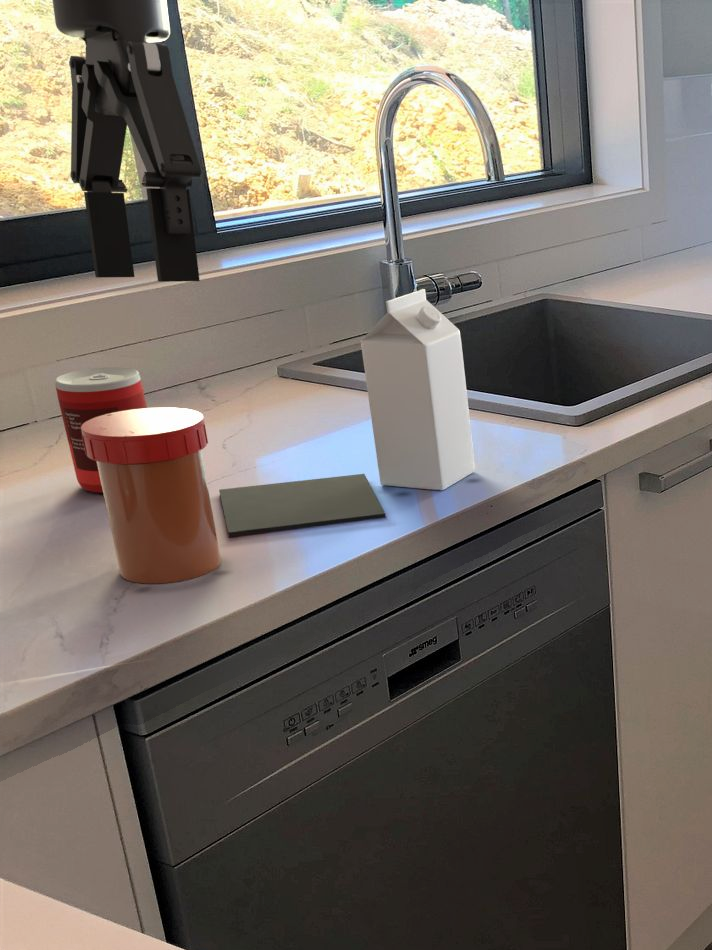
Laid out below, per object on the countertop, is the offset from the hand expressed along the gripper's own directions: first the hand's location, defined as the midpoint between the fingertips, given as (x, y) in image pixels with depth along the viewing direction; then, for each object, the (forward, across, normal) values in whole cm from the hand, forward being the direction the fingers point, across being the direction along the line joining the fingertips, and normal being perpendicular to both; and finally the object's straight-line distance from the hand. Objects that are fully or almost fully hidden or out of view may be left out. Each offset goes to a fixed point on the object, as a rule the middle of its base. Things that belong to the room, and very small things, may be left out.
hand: (145, 279), depth 107 cm
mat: (+22, +17, -18) cm, 33 cm away
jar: (+24, +9, -2) cm, 26 cm away
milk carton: (+21, +16, -31) cm, 41 cm away
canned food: (+21, +36, -7) cm, 43 cm away
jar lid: (+12, +7, -1) cm, 14 cm away
